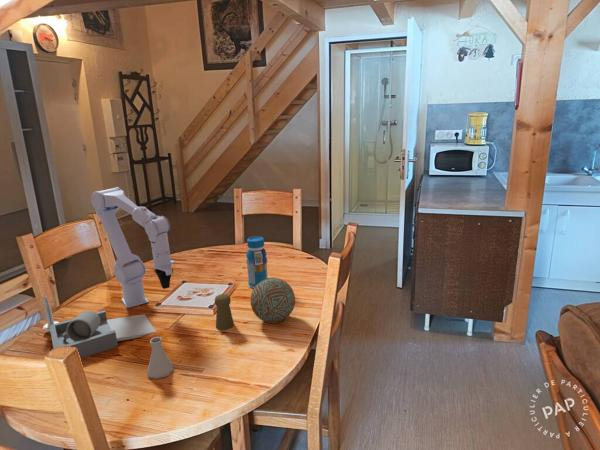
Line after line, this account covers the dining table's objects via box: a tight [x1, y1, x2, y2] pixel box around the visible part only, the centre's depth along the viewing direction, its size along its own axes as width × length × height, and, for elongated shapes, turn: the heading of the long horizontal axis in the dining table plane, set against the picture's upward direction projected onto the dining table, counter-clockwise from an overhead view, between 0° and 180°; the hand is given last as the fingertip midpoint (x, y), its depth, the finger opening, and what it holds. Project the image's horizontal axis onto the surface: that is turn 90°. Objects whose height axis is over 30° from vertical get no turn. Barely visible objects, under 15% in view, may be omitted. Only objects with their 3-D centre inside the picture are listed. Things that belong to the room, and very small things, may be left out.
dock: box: [49, 310, 157, 359], centre depth 132 cm, size 18×29×6 cm, turn 125°
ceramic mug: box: [62, 310, 100, 342], centre depth 128 cm, size 11×8×8 cm
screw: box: [42, 295, 60, 334], centre depth 135 cm, size 13×5×5 cm
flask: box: [146, 336, 174, 380], centre depth 112 cm, size 7×7×10 cm
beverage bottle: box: [245, 235, 269, 289], centre depth 165 cm, size 8×8×20 cm
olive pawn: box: [214, 293, 235, 331], centre depth 135 cm, size 6×6×11 cm
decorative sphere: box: [250, 277, 296, 324], centre depth 137 cm, size 15×15×15 cm
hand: (165, 287), depth 145 cm, fingers closed
